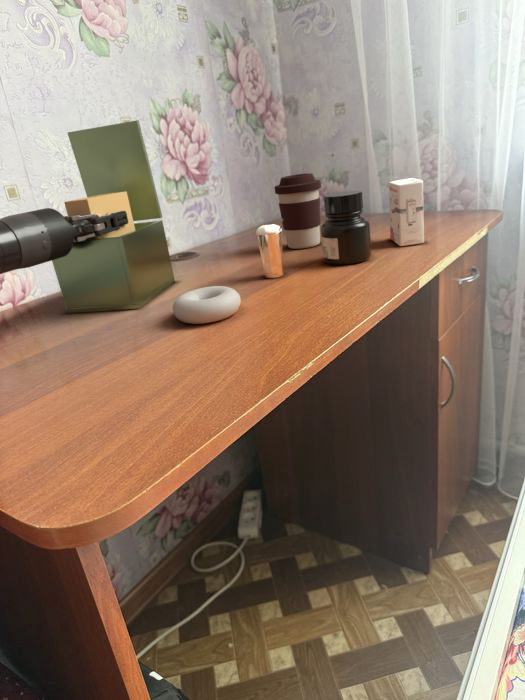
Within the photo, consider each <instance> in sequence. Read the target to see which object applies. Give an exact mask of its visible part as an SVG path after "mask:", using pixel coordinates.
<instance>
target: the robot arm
mask: <svg viewBox="0 0 525 700" xmlns="http://www.w3.org/2000/svg"><path fill="white" fill-rule="evenodd" d="M88 218H93V219H92V220H91V222H92V224H91V223H90V221H89V220H88ZM126 224H128V217H127V213H126V211H120V212H116V213H111V214H109V213H106V214H105V215H100V216H98V214H90V215H83V216H79V215H74V216H68V215H65V216H64V215H63V214H62V213H61V212H60V211H58V210H57V209H54V208H50V207H45V208H41V209H36V210H31V211H25V212H21V213H20V212H19V213H15V214H11V215H6V216H4V217H1V218H0V275H3V274H6V273H10V272H12V271H16V270H21V269H22V270H23V269H28V268H32V267H35V266H38V265H39V266H40V265H42V264H45V263H48V262H52V260H55V259H58V258H62V257H65V256H66V255H68V254H69V253H70V251H71V249H72V246H73V241H75V242H79V241H84V240H86V239H87V238H90V237H95V236H101V235H103V234H106V233H109V232H112V231H117V230H118V229H120V227H119V226H122V225H126ZM92 231H94V233H91V232H92Z"/></svg>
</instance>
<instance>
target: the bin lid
mask: <svg viewBox="0 0 525 700" xmlns="http://www.w3.org/2000/svg"><path fill="white" fill-rule="evenodd" d="M67 136H68V138H69V139H68V140H69V142H70V143H69V144H70V147H71V150H72V153H73V156H74V159H75V162H76V165H77V169H78V172H79V175H80V178H81V181H82V185H83V188H84V190H85V194H86V198H87V197H92V196H97V195H102V194H109V193H117V192H127V196H128V200H129V204H130V209H131V213H132V217H133V222H138V221H147V220H157V219H162V218H163V212H162V210H161V206H160V201H159V197H158V193H157V190H156V189H157V188H156V185H155V181H154V177H153V173H152V168H151V164H150V160H149V156H148V153H147V148H146V145H145V140H144V136H143V132H142V128H141V124H140V121H139V119H137V120H131V121H125V122H119V123H114V124H108V125H107V124H106V125H103V126H96V127H90V128H85V129H79V130H73V131H68V132H67Z"/></svg>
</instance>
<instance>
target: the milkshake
mask: <svg viewBox="0 0 525 700" xmlns="http://www.w3.org/2000/svg"><path fill="white" fill-rule="evenodd" d="M282 222H283V219H282V218H281V222H280V225H278V224H275V223H272V224H263V225H261V226H259V227H258V228H257V229H256V231H255V235H256V239H257V240H256V241H257V243H258V247H259V253H260V257H261V262H262V267H263V273H264V276H265V278H267V279H276V278H280V277H283V276H284V256H283V230H282V228H283V223H282Z"/></svg>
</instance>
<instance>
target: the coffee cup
mask: <svg viewBox="0 0 525 700" xmlns="http://www.w3.org/2000/svg"><path fill="white" fill-rule="evenodd" d="M321 188H322V181H321V179H316V177H315V176H314V174H313V173H311V172H308V173H299V174H292V175H285V176H282V177H281V178H280V180H279V184H277V185H275V186H274V194H276V195H277V196H278V201H279V203H278V207H279V213H280V217H281V220H282V219H283V222H282V228H283V230H284V234H285V239H286V245H287V247H288V248H289V249H292V250H293V249H294V250H298V249H299V250H302V249H308V248H312V247H313V248H314V247H316V246H318V245H319V244H320V243H321V227H320V226H321V198H320V193H319V192H320V190H319V189H321Z"/></svg>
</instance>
